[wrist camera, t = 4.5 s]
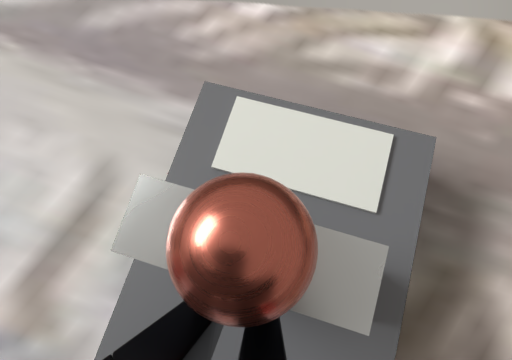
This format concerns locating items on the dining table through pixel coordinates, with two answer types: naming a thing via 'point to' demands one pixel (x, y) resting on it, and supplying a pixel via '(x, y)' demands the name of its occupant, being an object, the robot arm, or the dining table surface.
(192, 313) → the robot arm
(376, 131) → the switch box
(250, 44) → the dining table surface
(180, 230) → the switch lever
